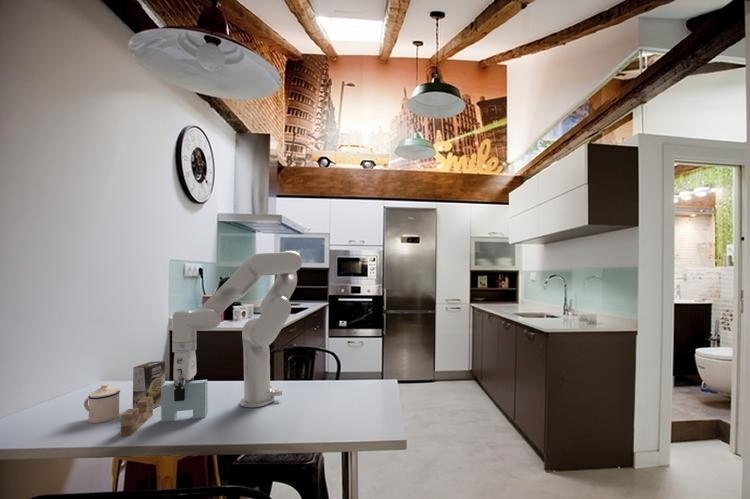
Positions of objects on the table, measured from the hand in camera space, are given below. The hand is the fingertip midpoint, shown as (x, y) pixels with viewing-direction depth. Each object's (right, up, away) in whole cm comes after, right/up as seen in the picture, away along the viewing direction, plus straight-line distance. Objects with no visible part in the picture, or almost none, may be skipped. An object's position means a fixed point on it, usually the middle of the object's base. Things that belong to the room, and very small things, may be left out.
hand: (184, 395), depth 125 cm
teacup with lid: (-31, -9, +2) cm, 32 cm away
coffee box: (-19, -9, +11) cm, 24 cm away
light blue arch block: (0, -7, 0) cm, 8 cm away
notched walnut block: (-13, -8, -5) cm, 16 cm away
